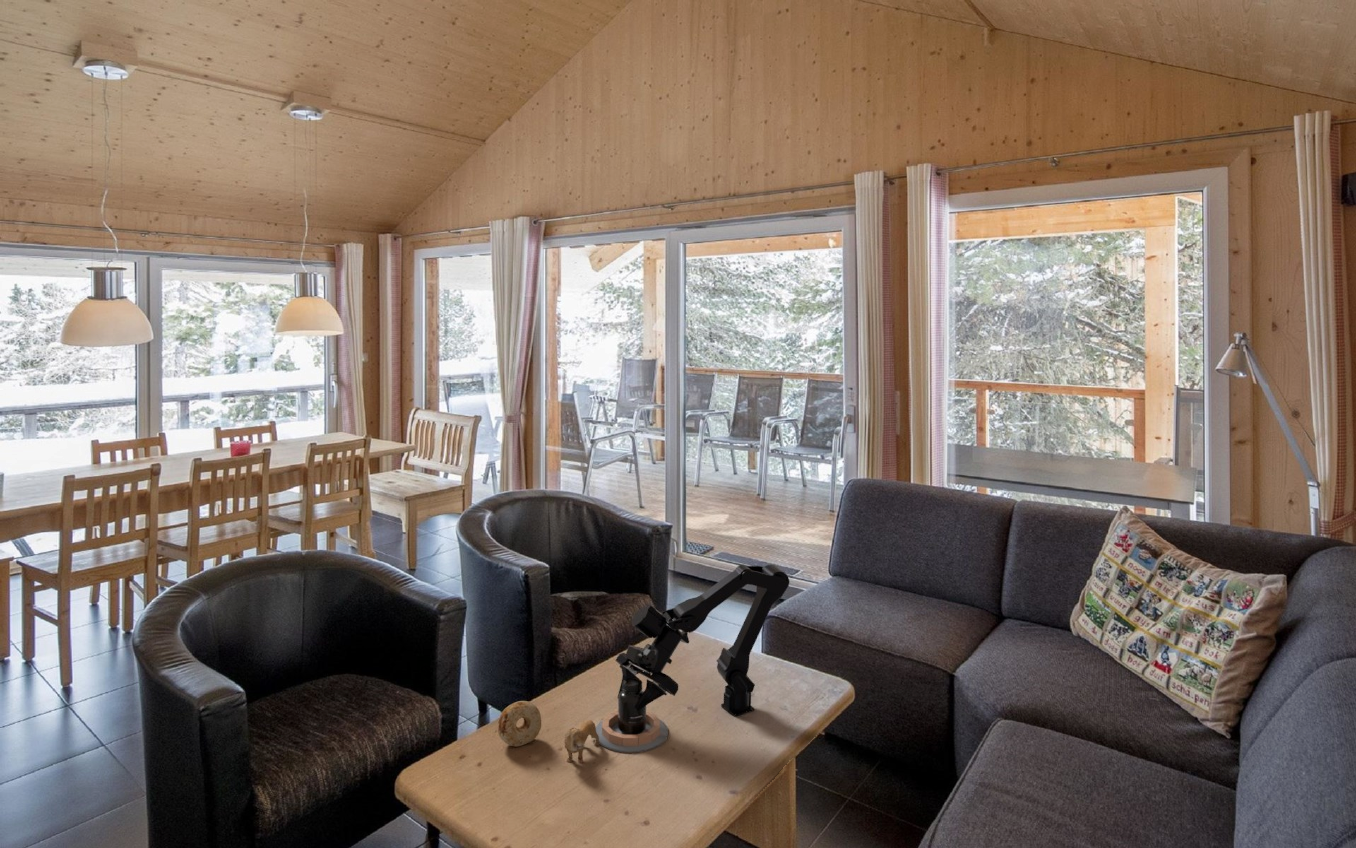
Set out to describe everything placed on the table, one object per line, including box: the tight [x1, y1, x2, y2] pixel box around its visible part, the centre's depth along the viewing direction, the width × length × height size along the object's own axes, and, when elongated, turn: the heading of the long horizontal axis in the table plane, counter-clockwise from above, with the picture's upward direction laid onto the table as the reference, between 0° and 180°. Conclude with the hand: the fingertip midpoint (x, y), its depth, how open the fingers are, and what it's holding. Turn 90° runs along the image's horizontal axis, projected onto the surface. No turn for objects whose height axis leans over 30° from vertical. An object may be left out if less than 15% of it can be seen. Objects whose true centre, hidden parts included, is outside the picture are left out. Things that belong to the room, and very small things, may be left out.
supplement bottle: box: [617, 678, 647, 735], centre depth 196 cm, size 7×7×12 cm
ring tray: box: [595, 710, 669, 754], centre depth 196 cm, size 18×18×3 cm
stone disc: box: [497, 700, 542, 747], centre depth 190 cm, size 10×4×10 cm, turn 123°
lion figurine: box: [563, 719, 600, 764], centre depth 186 cm, size 15×5×9 cm, turn 167°
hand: (627, 704), depth 195 cm, fingers closed on supplement bottle, 7 cm apart
